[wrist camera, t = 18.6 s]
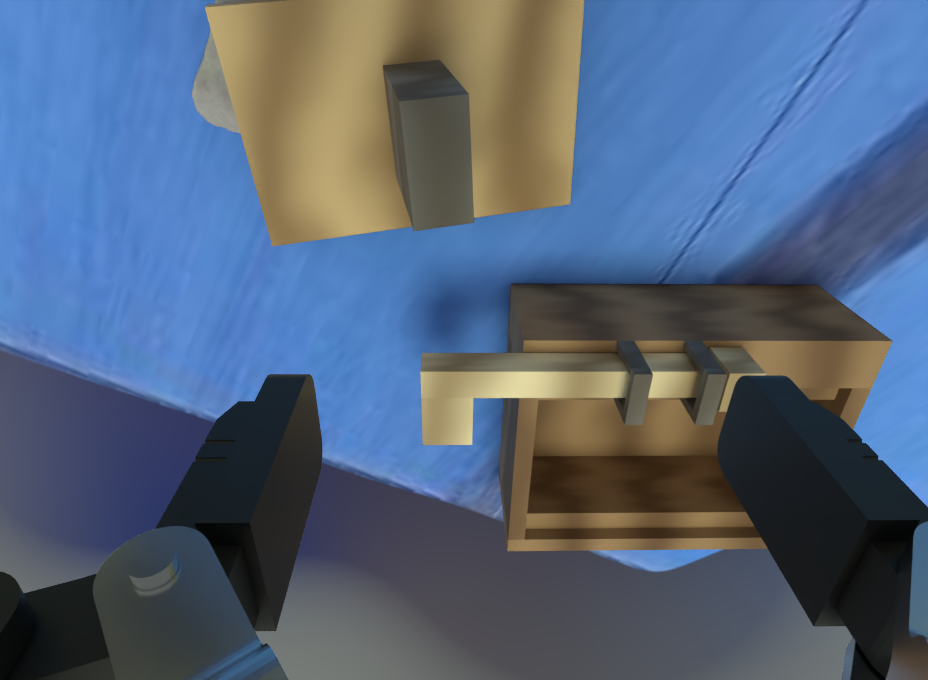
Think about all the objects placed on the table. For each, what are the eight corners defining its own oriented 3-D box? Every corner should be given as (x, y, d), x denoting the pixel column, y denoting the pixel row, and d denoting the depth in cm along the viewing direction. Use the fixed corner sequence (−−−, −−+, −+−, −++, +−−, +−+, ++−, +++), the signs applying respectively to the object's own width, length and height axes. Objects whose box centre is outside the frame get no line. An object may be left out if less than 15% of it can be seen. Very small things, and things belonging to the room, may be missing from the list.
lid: (578, -27, 30) (650, -9, 24) (564, 197, 37) (615, 256, 31) (207, 4, 27) (178, 33, 21) (273, 238, 35) (265, 311, 29)
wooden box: (817, 285, 41) (937, 374, 31) (750, 473, 50) (826, 590, 40) (510, 283, 40) (531, 374, 30) (499, 475, 49) (512, 593, 39)
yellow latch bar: (743, 347, 34) (765, 373, 32) (719, 427, 37) (738, 456, 35) (421, 347, 33) (419, 373, 31) (423, 428, 36) (422, 458, 34)
